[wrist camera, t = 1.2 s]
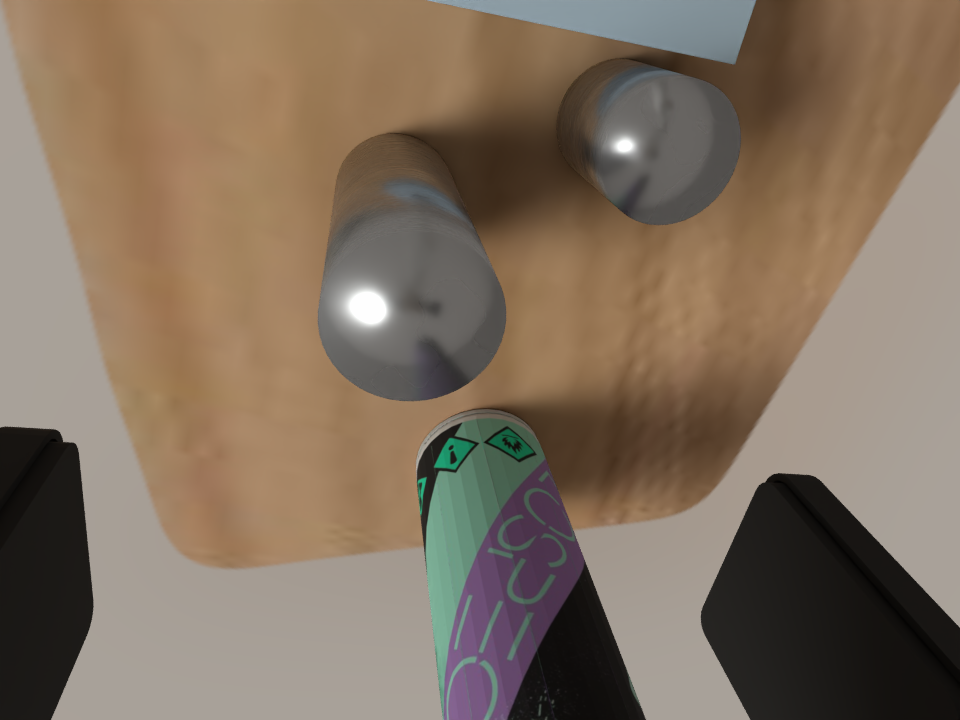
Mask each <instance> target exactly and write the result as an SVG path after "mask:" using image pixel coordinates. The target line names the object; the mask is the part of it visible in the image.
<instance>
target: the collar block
mask: <svg viewBox="0 0 960 720" xmlns="http://www.w3.org/2000/svg"><path fill="white" fill-rule="evenodd" d="M429 1H433V2H438V3H443V4H448V5H452V6H457V7H462V8H467V9H472V10H476V11H481V12H486V13H491V14H495V15H500V16H505V17H510V18H515V19H519V20H524V21H529V22H534V23H538V24H543V25H548V26H553V27H558V28H562V29H567V30H572V31H577V32H581V33H586V34H591V35H596V36H601V37H605V38H610V39H615V40H620V41H624V42H629V43H634V44H639V45H644V46H648V47H653V48H658V49H663V50H667V51H672V52H677V53H682V54H687V55H691V56H696V57H701V58H706V59H710V60H715V61H720V62H725V63H730V64H734V65H735V62H736V59H737V56H738V53H739V50H740V47H741V44H742V41H743V38H744V35H745V32H746V29H747V26H748V23H749V20H750V17H751V14H752V11H753V8H754V5H755V2H756V0H429Z"/></svg>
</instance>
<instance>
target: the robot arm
mask: <svg viewBox="0 0 960 720" xmlns="http://www.w3.org/2000/svg"><path fill="white" fill-rule="evenodd" d="M92 615H93V593H92V582H91V572H90V562H89V552H88V542H87V531H86V522H85V511H84V502H83V491H82V481H81V470H80V461H79V452H78V448H77V446H76V444H75V443H69V442H63V439H62V436H61V434H60V432H59V431H57V430H54V429H38V428H21V427H1V428H0V720H51V718H52V716H53V714H54V711H55V709H56V707H57V704H58V702H59V699H60V697H61V695H62V693H63V690H64V688H65V686H66V683H67V681H68V678H69V676H70V674H71V671H72V669H73V667H74V664H75V662H76V660H77V657H78V655H79V653H80V650H81V648H82V646H83V643H84V641H85V639H86V636H87V634H88V631H89V628H90V624H91V620H92ZM701 624H702V629H703V631H704V634H705V636H706V638H707V640H708V642H709V644H710V645H711V647H712V649H713V651H714V653H715V655H716V657H717V658H718V660H719V662H720V664H721V666H722V667H723V669H724V671H725V673H726V675H727V677H728V679H729V681H730V682H731V684H732V686H733V688H734V690H735V692H736V694H737V695H738V697H739V699H740V701H741V703H742V705H743V707H744V709H745V710H746V712H747V714H748V716H749V718H750V720H960V628H959V626H958V625H957V624H956V623H955V622H954V621H953V620H952V619H951V618H950V617H949V616H948V615H947V614H946V613H945V612H944V611H943V610H942V608H941V607H940V606H938V604H937V603H936V602H935V601H934V600H933V599H932V598H931V597H930V596H929V595H928V594H927V593H926V592H925V591H924V590H923V588H922V587H921V586H920V585H919V584H918V583H917V582H916V581H915V580H914V579H913V578H912V577H911V576H910V575H909V574H908V573H907V572H906V571H905V570H904V568H903V567H902V566H901V565H900V564H899V563H898V562H897V561H896V560H895V559H894V558H893V557H892V556H891V555H890V554H889V553H888V552H887V551H886V550H885V548H884V547H883V546H882V545H881V544H880V543H879V542H878V541H877V540H876V539H875V538H874V537H873V536H872V535H871V534H870V533H869V532H868V531H867V529H866V528H865V527H864V526H863V525H862V524H861V523H860V522H859V521H858V520H857V519H856V518H855V517H854V516H853V515H852V514H851V513H850V511H848V509H847V508H846V507H845V506H844V505H843V504H842V503H841V502H840V501H839V500H838V499H837V498H836V497H835V496H834V495H833V494H832V492H830V491H829V490H828V488H827V487H826V486H825V485H824V484H823V483H822V482H821V481H820V480H819V479H817V478H816V477H814V476H810V475H799V474H782V473H778V474H773V475H772V476H770V477H769V478H768V479H767V481H766V482H765V483H762V484H761V485H759V487H758V488H757V490H756V491H755V494H754V496H753V498H752V500H751V502H750V504H749V507H748V509H747V511H746V513H745V516H744V518H743V520H742V522H741V524H740V527H739V529H738V531H737V533H736V535H735V537H734V540H733V542H732V544H731V546H730V548H729V551H728V553H727V555H726V557H725V559H724V562H723V564H722V566H721V568H720V570H719V573H718V575H717V577H716V579H715V581H714V584H713V586H712V588H711V590H710V592H709V595H708V597H707V599H706V601H705V603H704V606H703V608H702V611H701Z"/></svg>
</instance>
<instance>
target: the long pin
mask: <svg viewBox="0 0 960 720" xmlns="http://www.w3.org/2000/svg"><path fill="white" fill-rule="evenodd" d="M505 324H506V305H505V298H504V295H503V291H502V288H501V286H500V283H499V281H498V279H497V277H496V274H495V272H494V270H493V268H492V265H491V263H490V261H489V259H488V257H487V254H486V252H485V250H484V248H483V245H482V243H481V241H480V239H479V236H478V234H477V232H476V230H475V227H474V225H473V223H472V221H471V218H470V216H469V214H468V212H467V209H466V207H465V205H464V203H463V200H462V198H461V196H460V194H459V191H458V189H457V187H456V185H455V183H454V180H453V178H452V176H451V174H450V171H449V169H448V167H447V165H446V163H445V162H444V160H443V159H442V157H441V156H440V155H439V154H438V152H436V151H435V150H434V149H433V148H432V147H431V146H429V145H428V144H427V143H425V142H423V141H421V140H420V139H417V138H415V137H412V136H409V135H404V134H395V133H394V134H383V135H378V136H375V137H372V138H370V139H368V140H366V141H364V142H362V143H361V144H359V145H358V146H357V147H355V148H354V149H353V150H352V151H351V152H350V153H349V155H348V156H347V157H346V159H345V160H344V162H343V163H342V165H341V168H340V170H339V173H338V176H337V181H336V187H335V194H334V202H333V209H332V216H331V223H330V230H329V237H328V244H327V252H326V259H325V266H324V273H323V280H322V287H321V294H320V302H319V309H318V327H319V334H320V338H321V341H322V344H323V347H324V349H325V351H326V353H327V356H328V357H329V359H330V360H331V362H332V363H333V365H334V366H335V367H336V368H337V369H338V371H339V372H340V373H341V374H342V375H343V376H344V377H345V378H347V379H348V380H349V381H350V382H352V383H353V384H354V385H356V386H357V387H359V388H361V389H363V390H365V391H367V392H369V393H371V394H374V395H376V396H379V397H383V398H387V399H391V400H399V401H421V400H428V399H433V398H437V397H440V396H444V395H447V394H449V393H451V392H454V391H456V390H458V389H460V388H461V387H463V386H465V385H466V384H468V383H469V382H470V381H472V380H473V379H474V378H476V377H477V376H478V375H479V374H480V373H481V372H482V371H483V370H484V369H485V368H486V367H487V365H488V364H489V363H490V362H491V360H492V359H493V357H494V355H495V354H496V352H497V350H498V348H499V346H500V343H501V341H502V338H503V334H504V330H505Z"/></svg>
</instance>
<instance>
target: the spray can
mask: <svg viewBox="0 0 960 720" xmlns="http://www.w3.org/2000/svg"><path fill="white" fill-rule="evenodd" d="M416 478H417V487H418V497H419V506H420V515H421V524H422V533H423V542H424V552H425V559H426V560H425V561H426V569H427V578H428V588H429V597H430V606H431V614H432V625H433V634H434V642H435V652H436V661H437V670H438V680H439V688H440V698H441V707H442V716H443V720H646V719H645V716H644V714H643V711H642V708H641V706H640V703H639V700H638V698H637V696H636V693H635V690H634V687H633V685H632V682H631V680H630V677H629V674H628V672H627V669H626V667H625V664H624V662H623V659H622V656H621V654H620V651H619V648H618V646H617V643H616V641H615V639H614V636H613V633H612V630H611V628H610V625H609V622H608V620H607V617H606V615H605V612H604V609H603V607H602V604H601V602H600V599H599V596H598V594H597V591H596V588H595V586H594V583H593V581H592V578H591V575H590V573H589V570H588V568H587V565H586V562H585V560H584V557H583V555H582V552H581V549H580V547H579V544H578V542H577V539H576V536H575V534H574V531H573V529H572V526H571V523H570V521H569V518H568V516H567V513H566V510H565V508H564V505H563V502H562V500H561V497H560V495H559V492H558V489H557V487H556V484H555V482H554V479H553V476H552V474H551V471H550V469H549V466H548V463H547V461H546V458H545V456H544V453H543V450H542V448H541V446H540V443H539V441H538V439H537V437H536V435H535V433H534V432H533V430H532V429H531V428H530V427H529V425H527V424H526V423H525V422H524V421H523V420H521V419H520V418H518V417H516V416H514V415H512V414H510V413H507V412H503V411H500V410H492V409H479V410H471V411H467V412H462V413H460V414H457V415H455V416H452V417H450V418H448V419H447V420H445V421H443V422H442V423H440V424H439V425H438V426H436V427H435V428H434V429H433V430H432V431H431V432H430V433H429V434H428V436H427V437H426V438H425V440H424V441H423V443H422V445H421V447H420V449H419V451H418V455H417V460H416Z"/></svg>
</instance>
